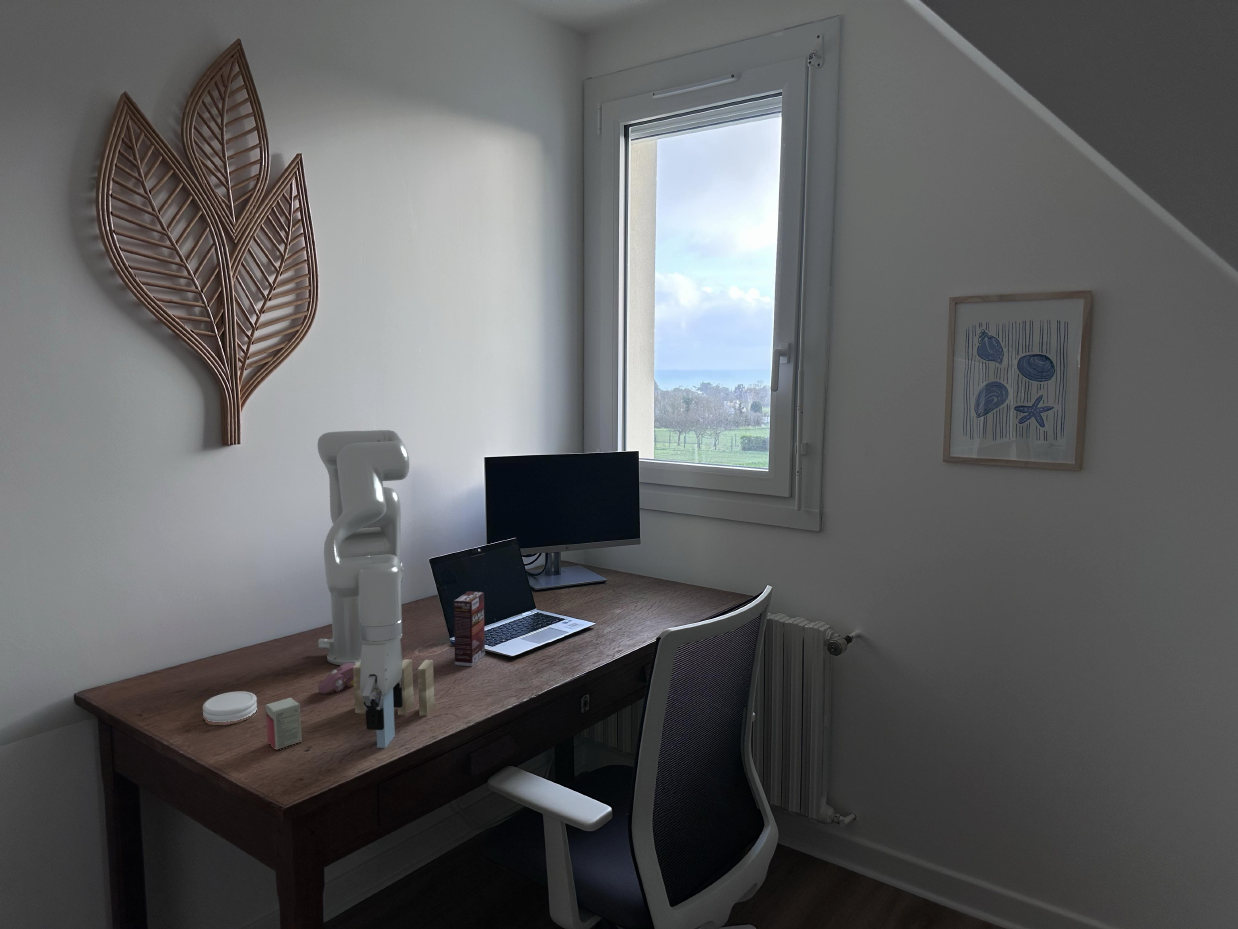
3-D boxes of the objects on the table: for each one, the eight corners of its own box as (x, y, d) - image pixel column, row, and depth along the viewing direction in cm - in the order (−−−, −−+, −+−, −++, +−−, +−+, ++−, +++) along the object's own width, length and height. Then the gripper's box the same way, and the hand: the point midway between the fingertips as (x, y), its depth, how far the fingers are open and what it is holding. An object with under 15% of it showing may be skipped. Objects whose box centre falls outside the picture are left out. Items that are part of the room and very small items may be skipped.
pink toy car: (327, 703, 175) (335, 679, 172) (314, 690, 176) (322, 666, 174) (363, 688, 183) (372, 664, 181) (350, 675, 185) (359, 652, 182)
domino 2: (397, 715, 165) (396, 668, 164) (406, 705, 170) (404, 659, 169) (405, 715, 165) (403, 668, 164) (413, 705, 170) (411, 659, 169)
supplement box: (473, 667, 191) (471, 602, 189) (454, 665, 192) (452, 600, 190) (486, 654, 199) (484, 591, 197) (468, 652, 200) (466, 590, 198)
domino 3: (419, 716, 165) (417, 669, 163) (427, 705, 170) (425, 659, 168) (427, 716, 165) (425, 669, 163) (434, 705, 170) (432, 660, 168)
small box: (293, 735, 156) (291, 696, 155) (302, 743, 153) (300, 703, 152) (266, 743, 153) (264, 704, 152) (275, 751, 150) (272, 711, 149)
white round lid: (253, 723, 162) (252, 707, 161) (198, 730, 159) (197, 713, 159) (260, 703, 171) (259, 688, 171) (208, 709, 169) (207, 693, 168)
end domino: (377, 747, 151) (374, 696, 150) (386, 735, 156) (384, 686, 155) (385, 748, 151) (383, 697, 150) (394, 735, 156) (392, 686, 155)
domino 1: (355, 714, 166) (353, 667, 164) (364, 703, 171) (362, 658, 169) (362, 714, 166) (360, 667, 164) (372, 704, 171) (370, 658, 169)
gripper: (379, 615, 160) (382, 698, 162) (342, 645, 142) (347, 738, 144) (416, 616, 159) (419, 699, 161) (384, 646, 142) (388, 739, 144)
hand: (385, 717), depth 153 cm, fingers open, 9 cm apart
